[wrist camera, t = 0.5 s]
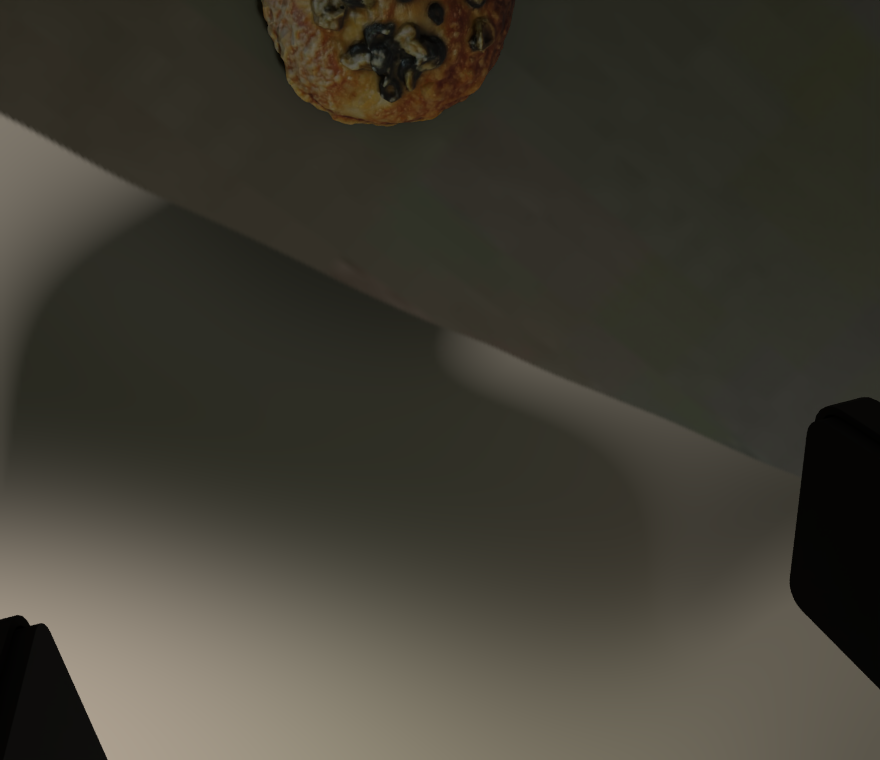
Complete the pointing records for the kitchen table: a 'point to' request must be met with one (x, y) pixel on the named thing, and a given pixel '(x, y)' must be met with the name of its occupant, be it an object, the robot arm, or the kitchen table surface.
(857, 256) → the kitchen table surface
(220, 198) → the kitchen table surface
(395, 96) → the bread roll
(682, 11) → the kitchen table surface
